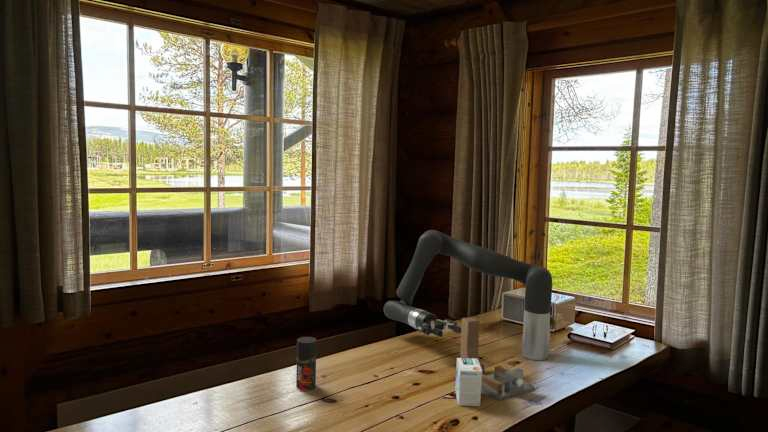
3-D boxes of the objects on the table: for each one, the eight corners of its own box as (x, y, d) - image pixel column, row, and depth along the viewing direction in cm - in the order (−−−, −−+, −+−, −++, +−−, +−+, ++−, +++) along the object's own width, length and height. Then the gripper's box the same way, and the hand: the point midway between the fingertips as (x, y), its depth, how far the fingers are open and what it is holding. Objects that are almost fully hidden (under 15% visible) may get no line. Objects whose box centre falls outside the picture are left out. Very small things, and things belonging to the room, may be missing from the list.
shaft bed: (501, 374, 186) (502, 354, 185) (538, 390, 173) (539, 369, 173) (466, 384, 177) (467, 362, 176) (502, 402, 164) (503, 379, 164)
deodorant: (318, 384, 173) (319, 338, 171) (310, 392, 167) (311, 344, 166) (301, 381, 175) (302, 335, 173) (292, 389, 169) (293, 341, 167)
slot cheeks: (498, 373, 184) (498, 365, 184) (524, 384, 176) (524, 376, 175) (472, 380, 178) (472, 372, 177) (497, 392, 169) (497, 384, 168)
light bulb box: (454, 390, 172) (456, 357, 171) (476, 391, 172) (478, 357, 170) (458, 405, 161) (459, 370, 160) (481, 406, 161) (483, 371, 160)
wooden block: (484, 377, 183) (487, 324, 181) (472, 378, 181) (475, 325, 180) (470, 367, 191) (473, 316, 190) (459, 368, 190) (461, 317, 188)
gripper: (407, 313, 203) (436, 324, 190) (437, 308, 211) (466, 319, 198) (406, 333, 204) (435, 346, 191) (436, 327, 212) (465, 339, 199)
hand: (451, 332), depth 194 cm, fingers open, 8 cm apart
